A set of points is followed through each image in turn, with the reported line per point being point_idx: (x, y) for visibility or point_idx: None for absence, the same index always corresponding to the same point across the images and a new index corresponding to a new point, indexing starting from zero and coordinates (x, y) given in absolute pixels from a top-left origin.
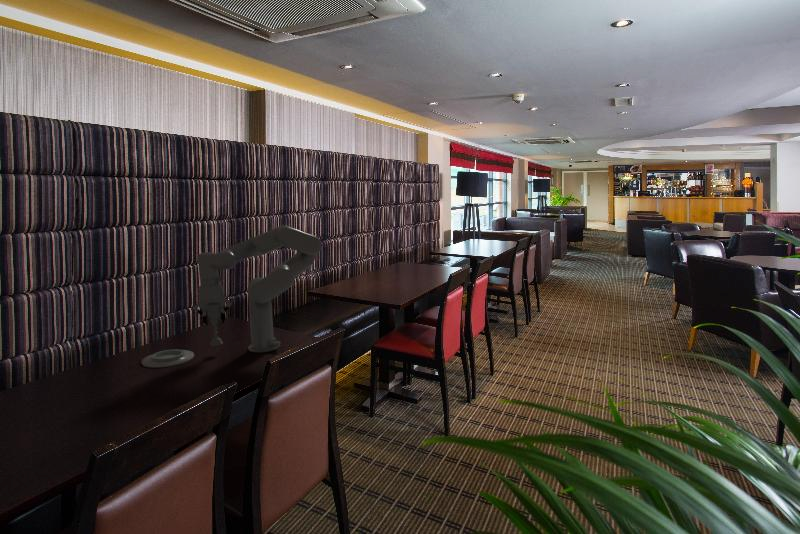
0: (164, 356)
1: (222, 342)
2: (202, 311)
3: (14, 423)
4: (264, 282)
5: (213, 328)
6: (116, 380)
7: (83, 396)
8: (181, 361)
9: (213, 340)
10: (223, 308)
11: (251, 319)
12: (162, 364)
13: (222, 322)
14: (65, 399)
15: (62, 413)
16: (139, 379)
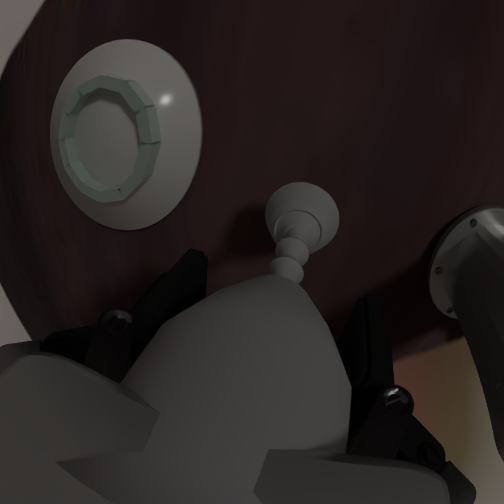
0: (97, 116)
1: (331, 236)
2: (96, 355)
3: (16, 311)
4: None
5: (271, 271)
6: (41, 245)
7: (31, 286)
8: (147, 222)
9: (275, 241)
10: (392, 447)
11: (492, 391)
12: (97, 213)
13: (337, 348)
14: (19, 279)
15: (40, 324)
16: (75, 274)
